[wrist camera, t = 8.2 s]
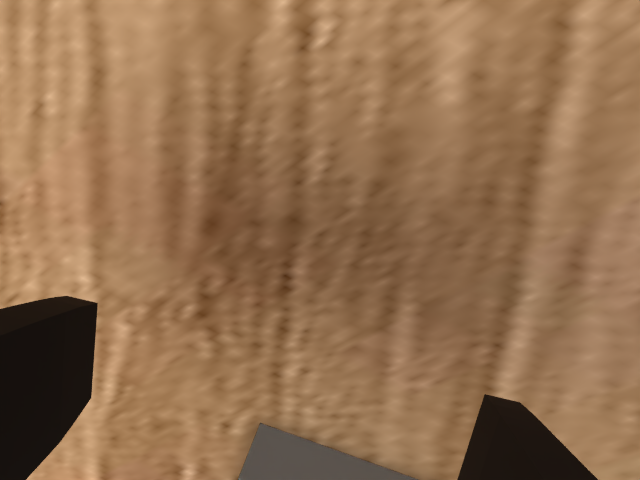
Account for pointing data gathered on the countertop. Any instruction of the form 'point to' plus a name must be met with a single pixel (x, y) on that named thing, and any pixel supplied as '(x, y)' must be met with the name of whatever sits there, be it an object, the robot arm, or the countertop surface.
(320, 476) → the base block
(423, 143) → the countertop surface
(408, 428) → the countertop surface
